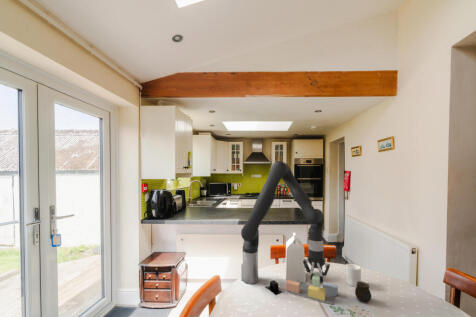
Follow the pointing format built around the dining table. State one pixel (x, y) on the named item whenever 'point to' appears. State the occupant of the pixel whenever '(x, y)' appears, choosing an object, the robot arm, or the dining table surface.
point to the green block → (316, 279)
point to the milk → (295, 260)
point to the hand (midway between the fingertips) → (316, 281)
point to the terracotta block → (293, 286)
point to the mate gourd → (363, 292)
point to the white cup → (353, 274)
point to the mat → (304, 293)
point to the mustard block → (317, 292)
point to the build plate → (274, 288)
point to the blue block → (330, 288)
